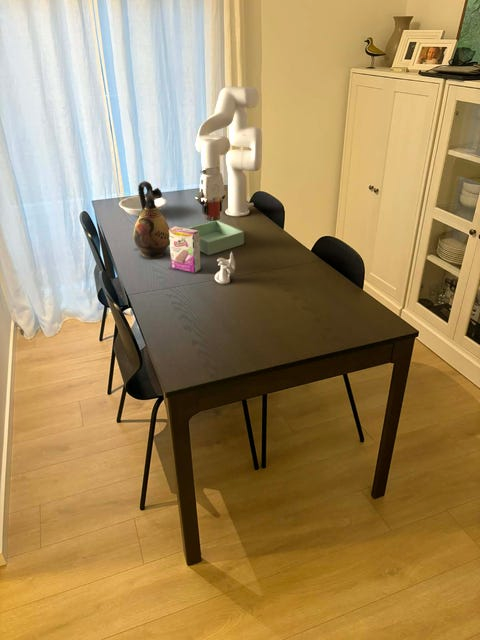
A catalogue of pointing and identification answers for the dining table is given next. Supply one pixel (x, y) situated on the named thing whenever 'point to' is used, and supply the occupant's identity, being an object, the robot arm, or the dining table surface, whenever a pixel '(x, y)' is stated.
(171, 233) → the candy bar box
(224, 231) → the green square tray
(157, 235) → the ceramic jug
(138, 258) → the dining table surface
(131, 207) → the soup bowl
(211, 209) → the red glass jar
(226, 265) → the figurine
